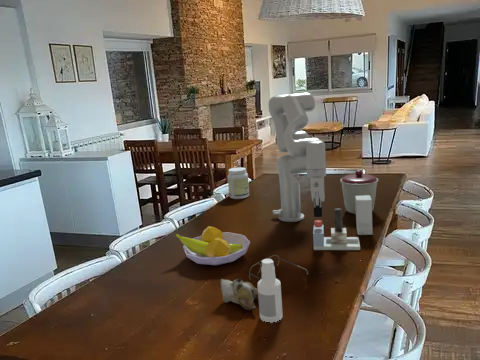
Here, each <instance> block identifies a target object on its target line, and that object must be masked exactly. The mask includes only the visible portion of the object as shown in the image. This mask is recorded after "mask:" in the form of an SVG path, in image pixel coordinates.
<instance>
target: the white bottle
mask: <svg viewBox="0 0 480 360" xmlns="http://www.w3.org/2000/svg"><path fill="white" fill-rule="evenodd" d="M275 269H276V268H275V264H274V260H273V259H272V258H268V259H266V258H264V259H262V260H261V268H260V273H261V279H259V280H258V282H257V289H258V298H257V299H258V300H257V301H258V311H259V319H260V320H261V321H262V322H264V321H265V322H264V323H266V322H270V323H269V324H274V323H273V322H275V323H278V322H280V321H281V320H282V319H283V300H282V285H281V280H280V279H278V278H276V277H277V276H276V270H275ZM279 320H280V321H279ZM277 321H278V322H277Z"/></svg>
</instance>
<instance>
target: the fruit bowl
mask: <svg viewBox="0 0 480 360" xmlns="http://www.w3.org/2000/svg"><path fill="white" fill-rule="evenodd" d="M175 237H176V238H178V239H179V241H180V242H181V243H182V244H183V245H182V248H183V250H184V253H185V255H186V258H188V259H190V260H191V261H193V262H195V264H199V265H209V266H220V265H223V264H227V263H232V262H234V261H236V260H238V259H239V258H241V257H242V256H245V254H246V253H247V252H248V249H249V247H250V243H251V241H250V240H249V239H248V238H247V236H245V235H243V234H241V233H234V232H227V231H226V232H225V231H224V232H222V230H221V229H218V228H217V227H214V226H210V225H208V226H207V227H206V228H205V229H204V230H203V231H202V234H201V235H200V236H196V237H193V238H190V237H186V236H182V235H180V234H179V233H177V234H175Z"/></svg>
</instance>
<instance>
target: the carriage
mask: <svg viewBox="0 0 480 360" xmlns="http://www.w3.org/2000/svg"><path fill="white" fill-rule="evenodd" d="M333 210H334V212H333V213H334V215H333V216H334V227H331V228H330V237H331V243H347V237H348V232H347V227H343V209H342V208H340V207H339V208H338V207H337V208H334V209H333Z"/></svg>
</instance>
